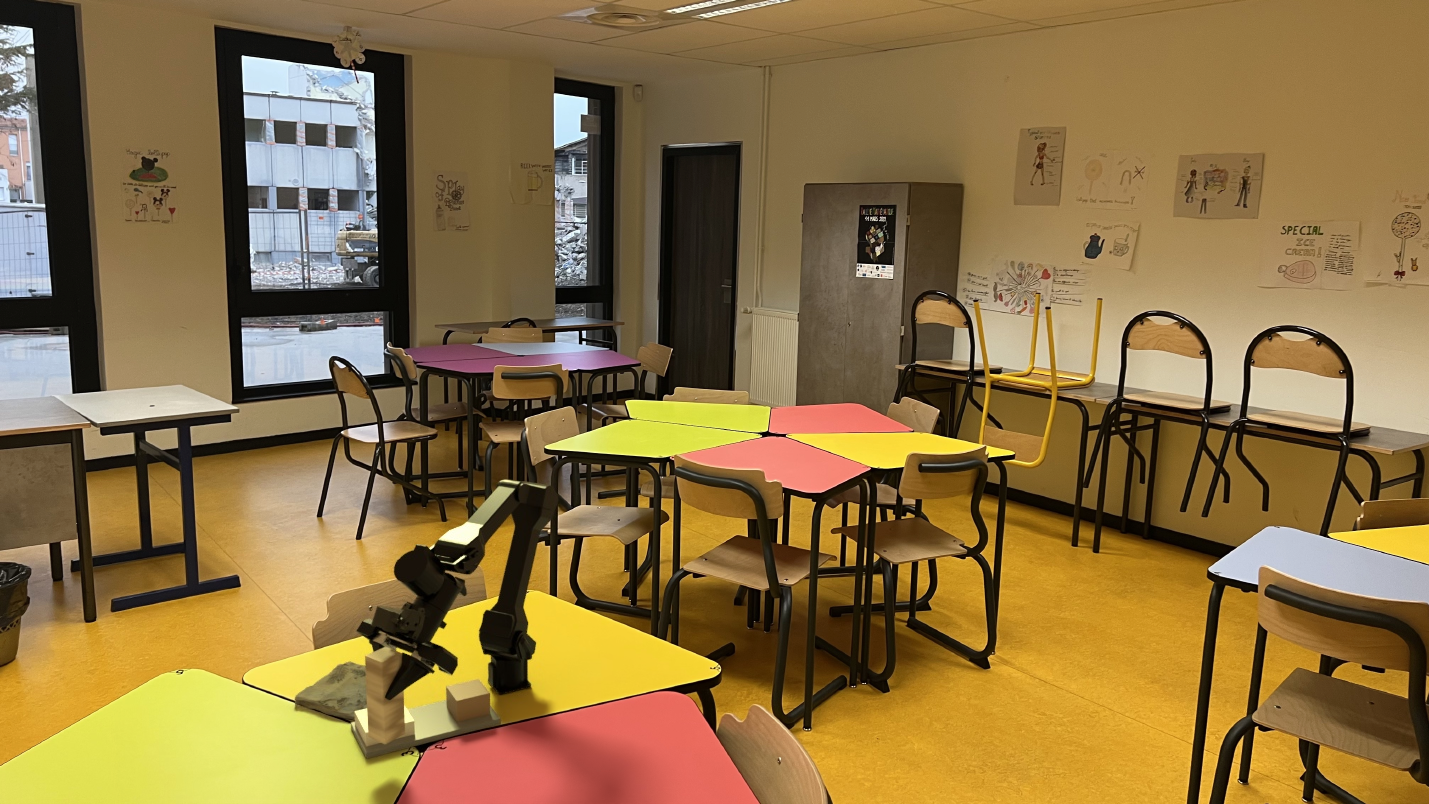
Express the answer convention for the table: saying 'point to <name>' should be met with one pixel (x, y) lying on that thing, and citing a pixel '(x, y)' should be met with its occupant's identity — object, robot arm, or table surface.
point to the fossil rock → (337, 692)
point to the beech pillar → (383, 696)
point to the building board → (434, 719)
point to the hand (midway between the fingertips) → (378, 695)
